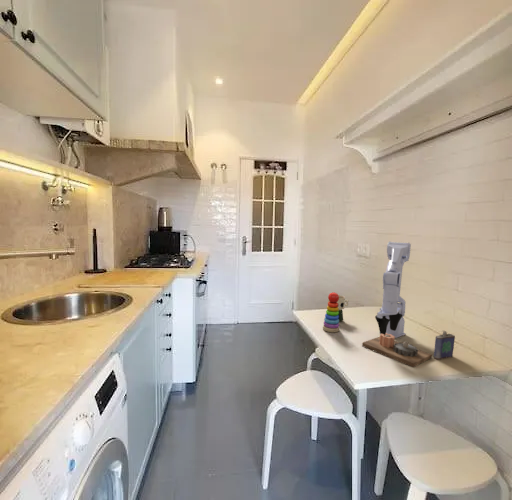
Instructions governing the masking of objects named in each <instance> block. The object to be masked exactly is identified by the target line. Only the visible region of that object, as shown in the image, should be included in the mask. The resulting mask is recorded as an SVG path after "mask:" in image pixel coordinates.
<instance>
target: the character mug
mask: <svg viewBox="0 0 512 500" xmlns="http://www.w3.org/2000/svg"><path fill="white" fill-rule="evenodd" d="M338 296H339V300H338V301H337V303H338V308H339V310H338V312H339V314H338V316H339V318H338V319H339V322H342V321H344V313H343V310H344V309H345V307H348V306H349V300H348V299H346V296H344V295H340V294H338ZM328 302H330V301H329V299H327V303H328Z"/></svg>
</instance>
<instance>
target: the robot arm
mask: <svg viewBox="0 0 512 500" xmlns="http://www.w3.org/2000/svg"><path fill="white" fill-rule="evenodd" d="M411 245H412V243H410V242H400V241H399V242H397V241H388V242H387V245H386V253H387V254H386V255H387V259H388V260H389V261H388V262H387V265H386V269H385V272H383V275H382V290H383V294H382V303H381V308H379V311H378V312H377V313H376V315H375V317H374V318H375V320H376V322H377V324H378V330H379V334H380V335H381V334H386V333H387V334H392V335H393V336H395V339H396V338H399V337H402V336H404V335H406V334H407V333H405V322H406V321H405V318H404V317H405V313H406V300H405V299H404V298H403V297H402V296H401V285H402V277H403V276H402V275H403V268H404V267H403V266H404V264H405V263H406V262H408V261H409V260H410V255H411V250H412V249H411Z"/></svg>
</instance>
